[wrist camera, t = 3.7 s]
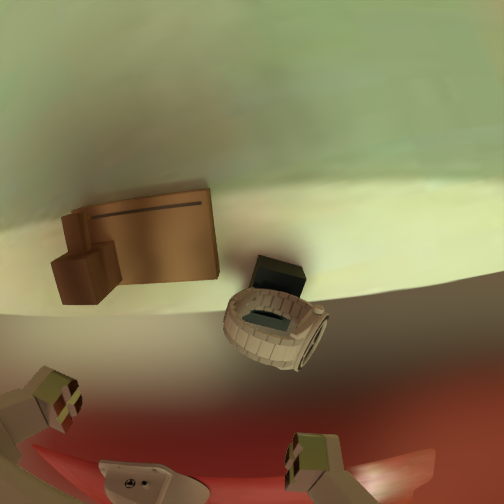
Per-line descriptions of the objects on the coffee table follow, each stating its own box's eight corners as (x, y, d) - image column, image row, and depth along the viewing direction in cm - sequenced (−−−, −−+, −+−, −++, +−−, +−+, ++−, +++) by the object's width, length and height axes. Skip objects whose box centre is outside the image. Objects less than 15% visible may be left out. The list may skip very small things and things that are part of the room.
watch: (301, 319, 31) (318, 391, 20) (226, 300, 30) (210, 369, 20) (320, 271, 29) (351, 330, 18) (240, 249, 29) (230, 301, 18)
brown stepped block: (90, 281, 28) (62, 304, 23) (75, 210, 26) (41, 222, 20) (122, 280, 28) (97, 304, 22) (107, 204, 25) (76, 216, 20)
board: (96, 279, 30) (87, 286, 28) (81, 207, 28) (71, 210, 26) (219, 271, 29) (217, 279, 27) (209, 188, 27) (205, 190, 25)
